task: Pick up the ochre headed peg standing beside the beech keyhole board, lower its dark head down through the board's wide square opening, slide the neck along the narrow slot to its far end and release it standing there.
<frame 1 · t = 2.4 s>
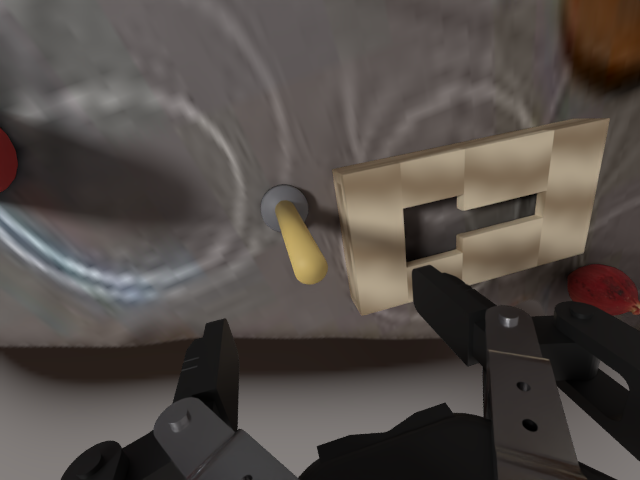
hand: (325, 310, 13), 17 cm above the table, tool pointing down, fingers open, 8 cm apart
headed peg: (283, 207, 28), on the table
keyhole board: (459, 210, 32), on the table
onion: (568, 274, 40), on the table
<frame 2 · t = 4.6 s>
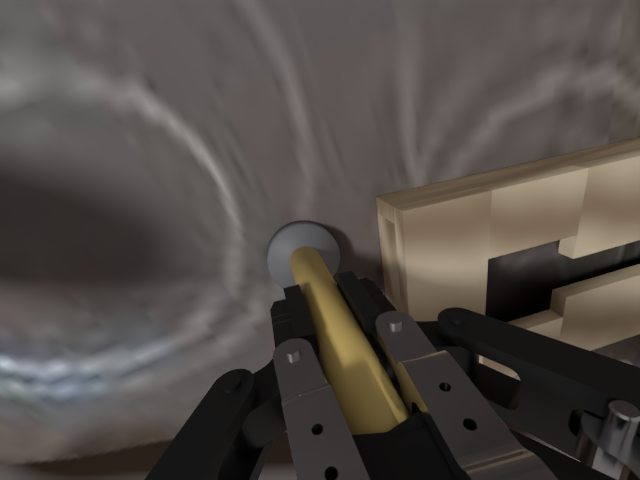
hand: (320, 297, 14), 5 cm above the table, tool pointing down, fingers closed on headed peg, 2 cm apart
headed peg: (302, 254, 18), on the table, touching gripper
keyhole board: (548, 250, 23), on the table
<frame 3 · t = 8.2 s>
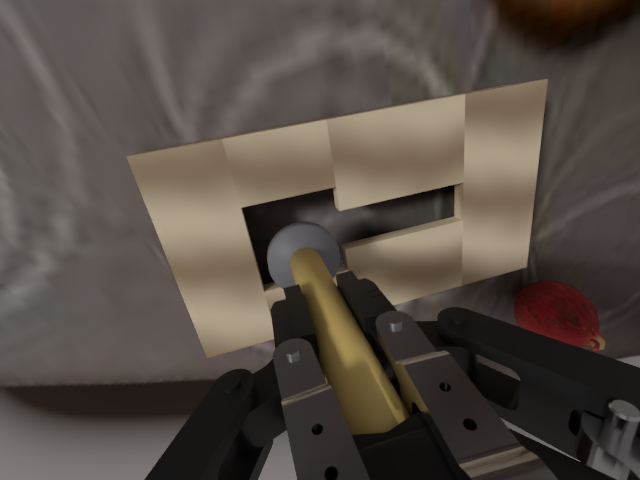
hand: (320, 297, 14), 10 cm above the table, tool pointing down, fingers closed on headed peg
headed peg: (302, 255, 18), point 5 cm above the table, touching gripper
keyhole board: (354, 210, 24), on the table
onion: (517, 292, 31), on the table
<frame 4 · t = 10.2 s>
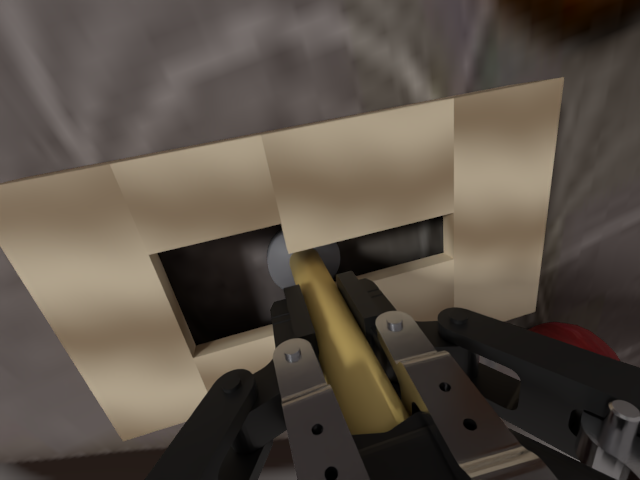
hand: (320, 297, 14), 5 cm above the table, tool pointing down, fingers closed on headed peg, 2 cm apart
headed peg: (302, 255, 18), resting in keyhole board, touching gripper
keyhole board: (317, 245, 19), on the table
onion: (522, 331, 26), on the table
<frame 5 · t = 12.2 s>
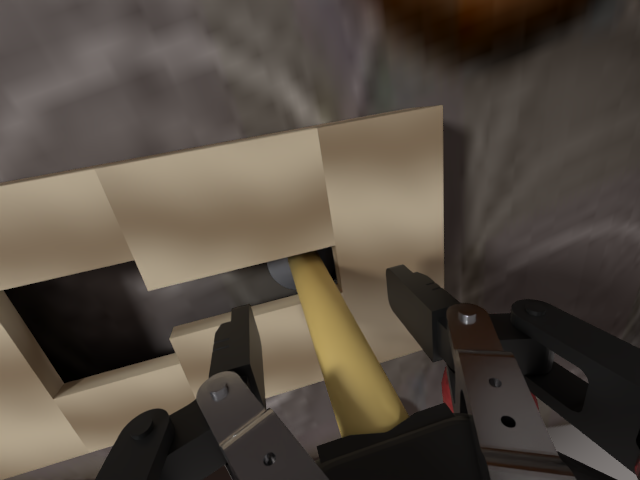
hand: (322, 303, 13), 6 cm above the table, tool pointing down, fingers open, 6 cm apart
headed peg: (300, 251, 19), resting in keyhole board
keyhole board: (209, 273, 18), on the table
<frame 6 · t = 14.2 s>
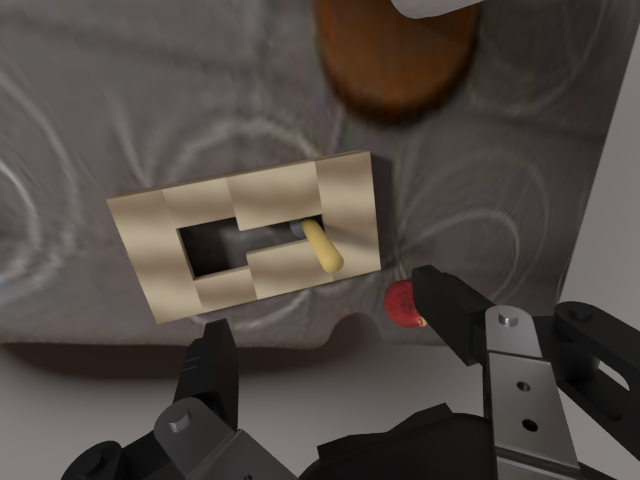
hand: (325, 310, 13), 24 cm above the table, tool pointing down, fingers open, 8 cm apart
headed peg: (306, 220, 37), resting in keyhole board
keyhole board: (260, 230, 36), on the table
onion: (393, 288, 43), on the table
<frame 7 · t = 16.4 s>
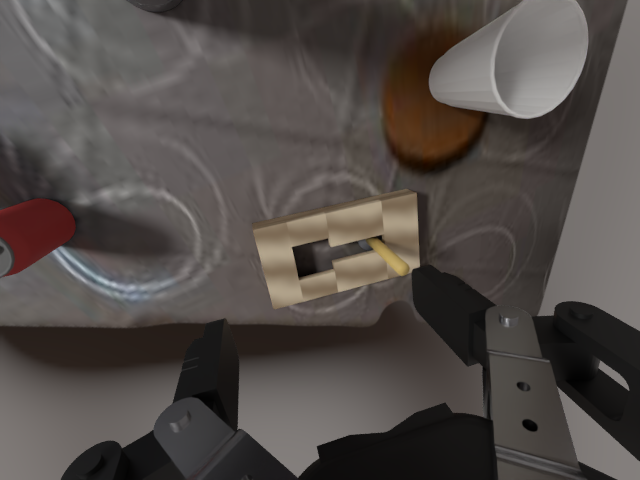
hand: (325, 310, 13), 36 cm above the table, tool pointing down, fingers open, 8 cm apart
headed peg: (368, 237, 53), resting in keyhole board
keyhole board: (338, 244, 52), on the table
cup: (448, 79, 47), on the table
beer can: (50, 220, 42), on the table
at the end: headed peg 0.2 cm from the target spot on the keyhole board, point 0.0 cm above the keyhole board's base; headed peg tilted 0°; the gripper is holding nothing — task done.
